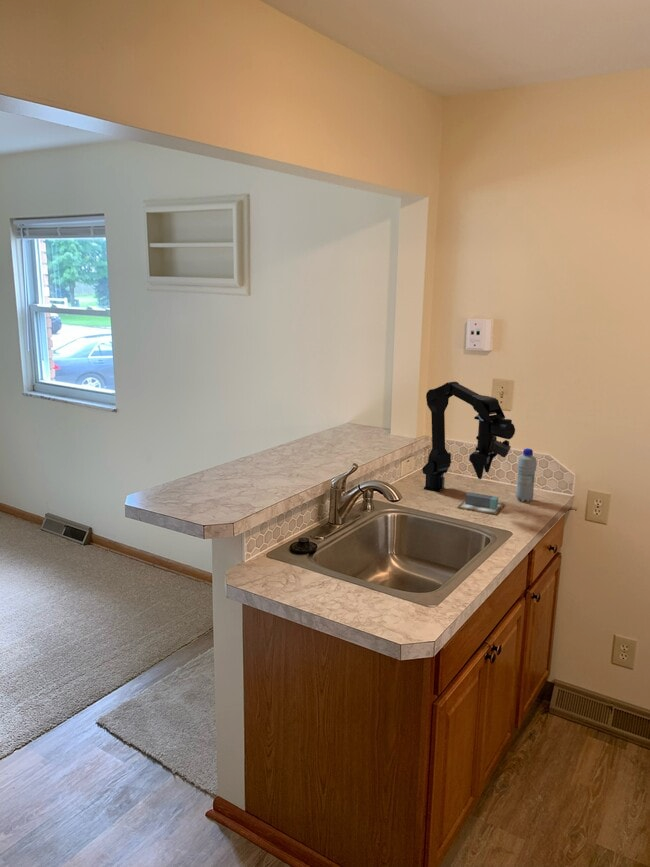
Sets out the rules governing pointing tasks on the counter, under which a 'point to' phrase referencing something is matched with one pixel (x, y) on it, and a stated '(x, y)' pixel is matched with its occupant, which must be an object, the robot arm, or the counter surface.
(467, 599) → the counter surface
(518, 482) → the bottle
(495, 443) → the robot arm
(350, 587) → the counter surface
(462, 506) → the clipboard
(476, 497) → the teal-capped grey block
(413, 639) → the counter surface
